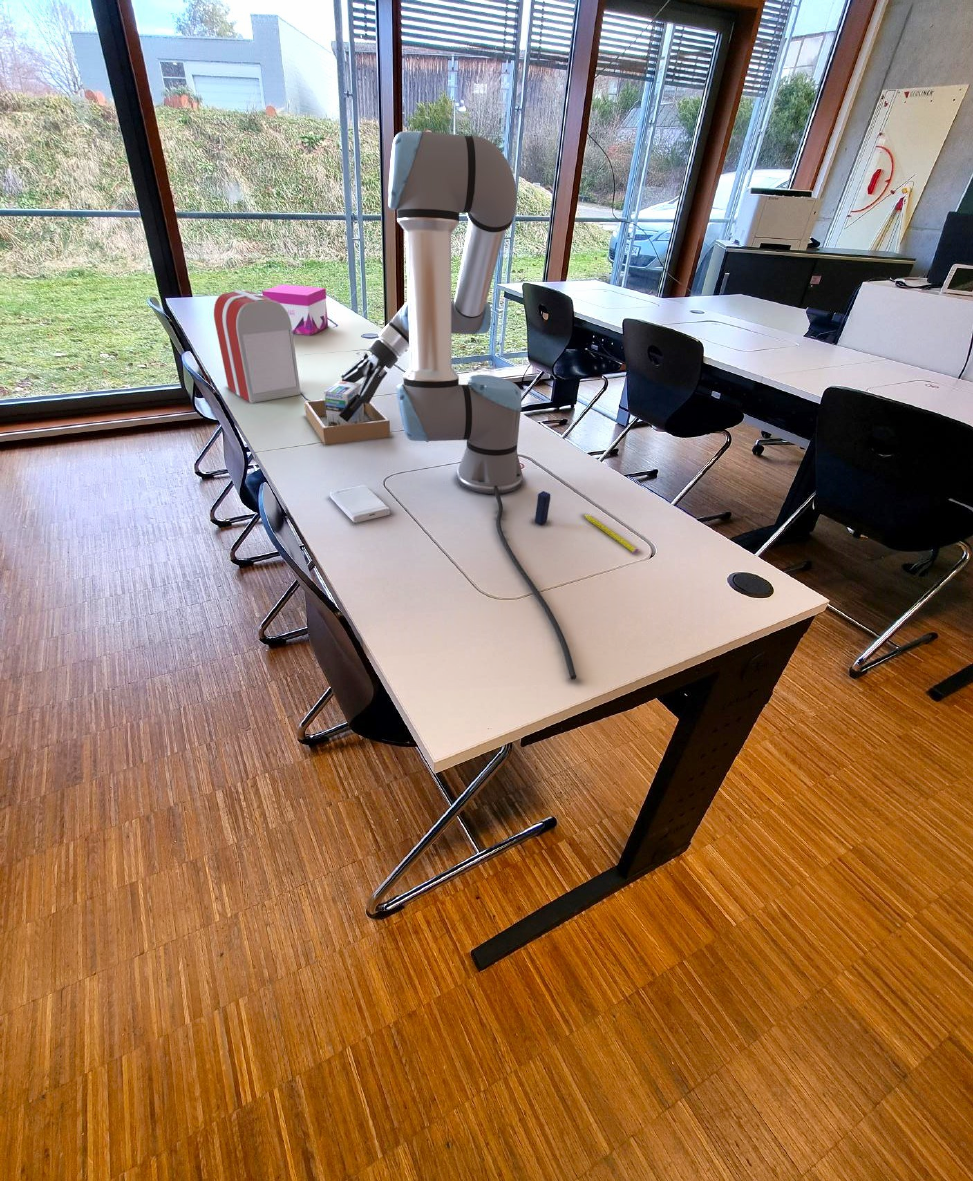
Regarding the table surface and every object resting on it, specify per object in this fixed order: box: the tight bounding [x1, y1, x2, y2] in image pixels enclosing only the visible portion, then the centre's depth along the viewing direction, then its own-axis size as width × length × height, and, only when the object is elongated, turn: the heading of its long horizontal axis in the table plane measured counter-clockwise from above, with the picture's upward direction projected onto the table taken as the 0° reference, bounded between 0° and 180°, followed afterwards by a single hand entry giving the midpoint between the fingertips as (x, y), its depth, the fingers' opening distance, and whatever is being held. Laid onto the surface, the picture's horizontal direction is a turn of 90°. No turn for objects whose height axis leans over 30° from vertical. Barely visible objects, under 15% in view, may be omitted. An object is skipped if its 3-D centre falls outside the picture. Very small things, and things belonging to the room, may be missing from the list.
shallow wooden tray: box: [303, 398, 391, 446], centre depth 159 cm, size 22×18×4 cm
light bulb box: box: [323, 380, 366, 426], centre depth 157 cm, size 11×7×11 cm, turn 168°
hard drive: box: [329, 484, 391, 524], centre depth 123 cm, size 2×8×12 cm
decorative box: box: [261, 283, 329, 336], centre depth 245 cm, size 19×19×15 cm
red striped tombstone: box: [213, 289, 302, 404], centre depth 173 cm, size 17×18×27 cm
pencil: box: [584, 514, 639, 554], centre depth 120 cm, size 16×1×1 cm, turn 30°
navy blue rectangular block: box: [534, 490, 551, 526], centre depth 120 cm, size 2×2×7 cm
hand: (336, 410), depth 157 cm, fingers closed on light bulb box, 12 cm apart
